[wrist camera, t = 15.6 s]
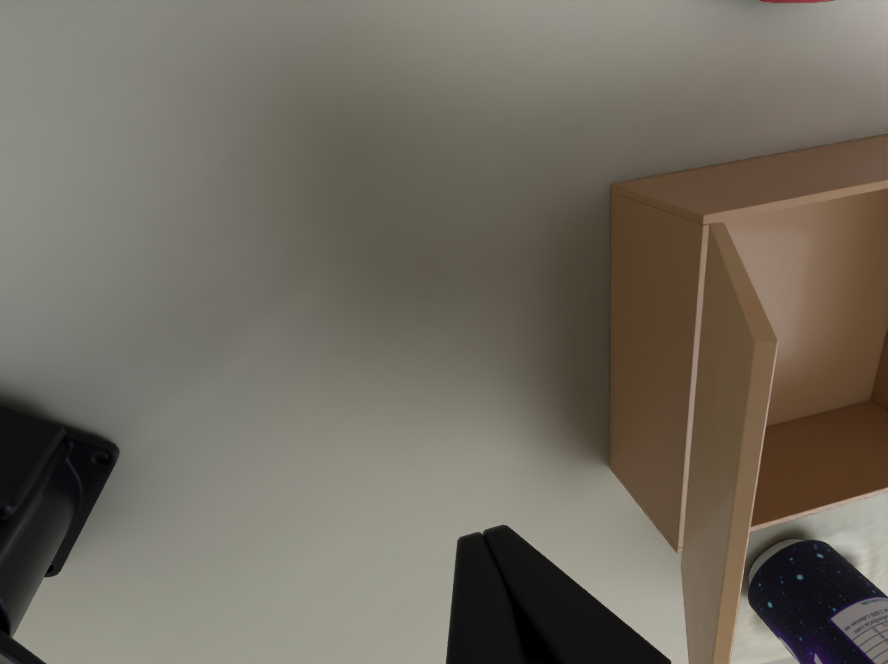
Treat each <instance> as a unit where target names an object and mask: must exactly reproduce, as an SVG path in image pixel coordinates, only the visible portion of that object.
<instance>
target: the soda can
mask: <svg viewBox="0 0 888 664" xmlns="http://www.w3.org/2000/svg"><path fill="white" fill-rule="evenodd" d="M760 1H764V2H772V3H816V2H826V1H835V0H760Z"/></svg>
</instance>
